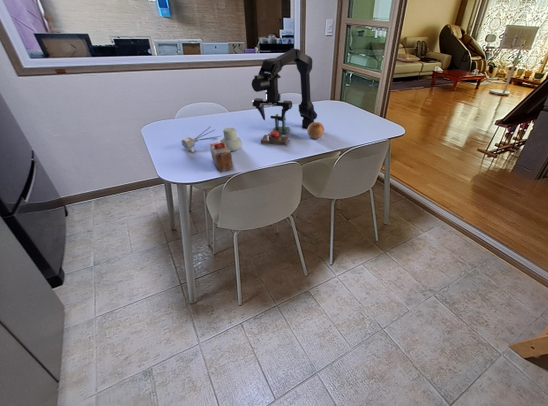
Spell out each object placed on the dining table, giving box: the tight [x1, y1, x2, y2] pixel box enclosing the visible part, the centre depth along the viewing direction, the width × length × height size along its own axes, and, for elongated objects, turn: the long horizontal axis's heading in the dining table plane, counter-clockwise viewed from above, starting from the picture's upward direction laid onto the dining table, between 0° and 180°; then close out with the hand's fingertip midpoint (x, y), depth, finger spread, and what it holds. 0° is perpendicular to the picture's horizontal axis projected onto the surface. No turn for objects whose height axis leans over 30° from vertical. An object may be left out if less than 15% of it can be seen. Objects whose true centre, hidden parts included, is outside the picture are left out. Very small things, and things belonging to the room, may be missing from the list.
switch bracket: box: [272, 113, 290, 135], centre depth 163 cm, size 10×8×9 cm
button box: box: [260, 133, 290, 146], centre depth 151 cm, size 13×8×4 cm, turn 86°
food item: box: [209, 141, 234, 172], centre depth 124 cm, size 14×8×10 cm, turn 31°
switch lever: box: [270, 115, 282, 122], centre depth 157 cm, size 12×6×2 cm, turn 176°
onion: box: [306, 121, 325, 140], centre depth 158 cm, size 10×9×10 cm
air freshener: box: [220, 127, 243, 152], centre depth 138 cm, size 11×8×10 cm
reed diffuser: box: [181, 126, 221, 153], centre depth 143 cm, size 10×7×20 cm
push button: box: [269, 130, 279, 137], centre depth 149 cm, size 4×4×2 cm
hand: (273, 120), depth 146 cm, fingers open, 9 cm apart
